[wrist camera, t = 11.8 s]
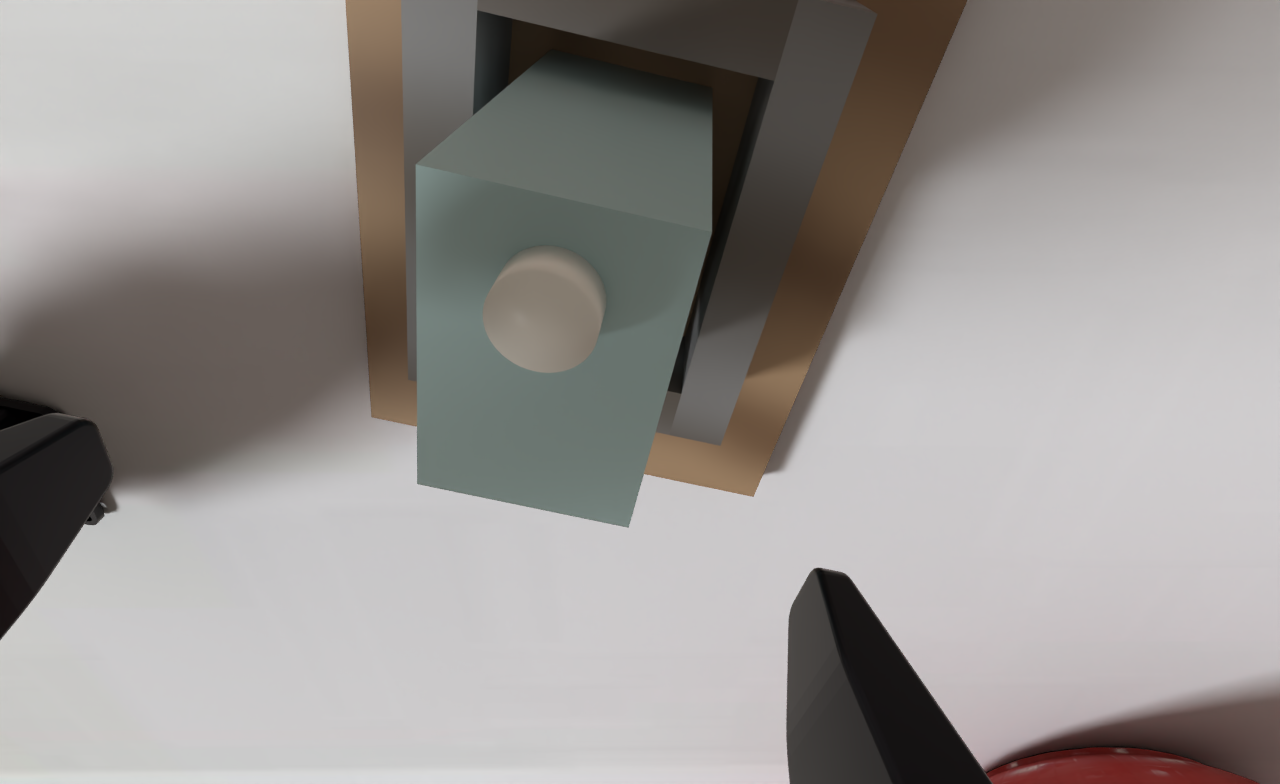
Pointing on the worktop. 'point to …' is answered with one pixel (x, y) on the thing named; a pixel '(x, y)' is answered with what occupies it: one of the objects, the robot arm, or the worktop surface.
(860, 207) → the caddy
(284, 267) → the worktop surface
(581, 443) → the block
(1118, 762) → the mixing bowl
